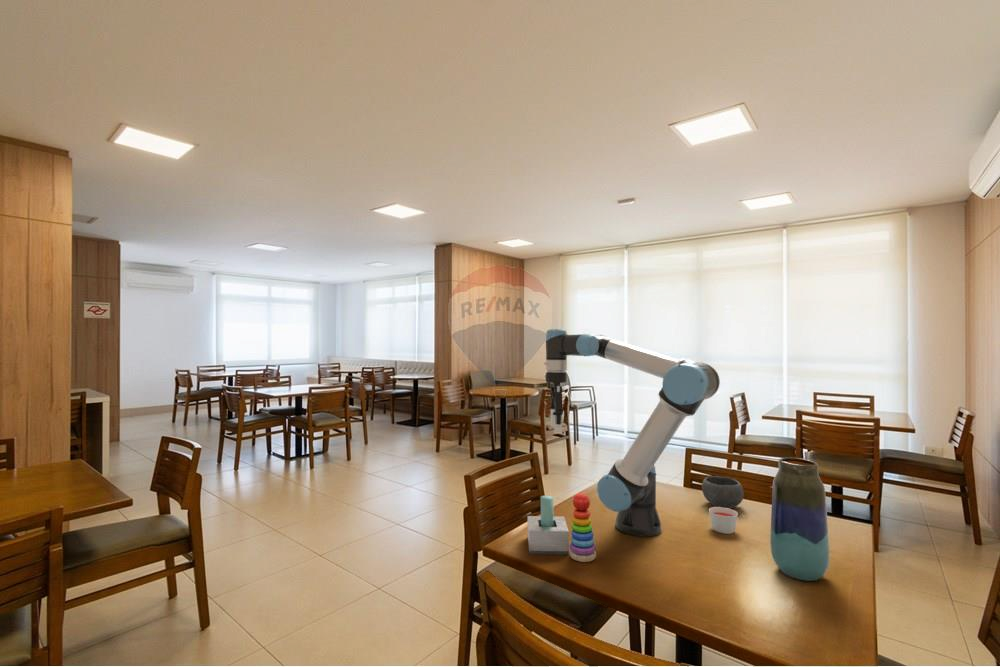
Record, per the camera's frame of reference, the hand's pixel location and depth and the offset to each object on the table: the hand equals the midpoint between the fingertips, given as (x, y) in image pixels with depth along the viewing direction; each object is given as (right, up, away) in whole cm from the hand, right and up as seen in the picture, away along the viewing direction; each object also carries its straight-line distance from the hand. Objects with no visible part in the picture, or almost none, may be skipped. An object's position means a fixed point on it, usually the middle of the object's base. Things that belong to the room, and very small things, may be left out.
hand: (556, 429), depth 166 cm
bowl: (+68, -34, +15) cm, 77 cm away
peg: (-5, -31, -21) cm, 38 cm away
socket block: (-5, -32, -22) cm, 39 cm away
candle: (+57, -33, -9) cm, 66 cm away
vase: (+63, -32, -39) cm, 81 cm away
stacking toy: (+4, -32, -29) cm, 44 cm away
